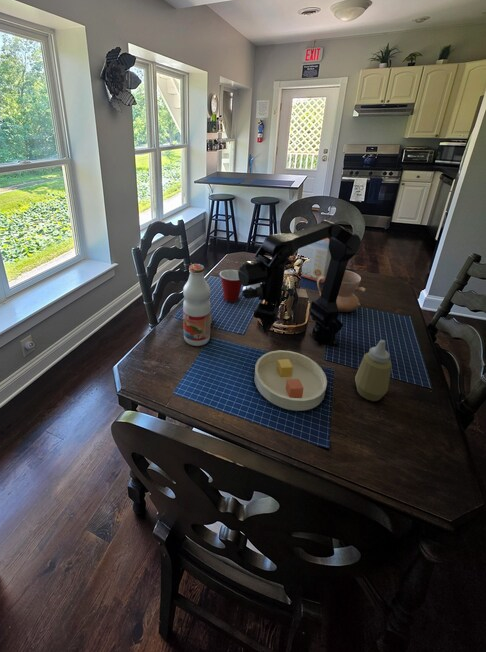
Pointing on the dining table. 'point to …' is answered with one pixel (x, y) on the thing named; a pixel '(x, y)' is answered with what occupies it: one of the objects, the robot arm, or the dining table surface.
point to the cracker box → (316, 259)
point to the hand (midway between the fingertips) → (269, 323)
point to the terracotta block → (294, 388)
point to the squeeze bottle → (374, 373)
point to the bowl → (302, 370)
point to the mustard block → (284, 368)
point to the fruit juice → (196, 307)
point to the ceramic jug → (346, 291)
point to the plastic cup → (230, 285)
